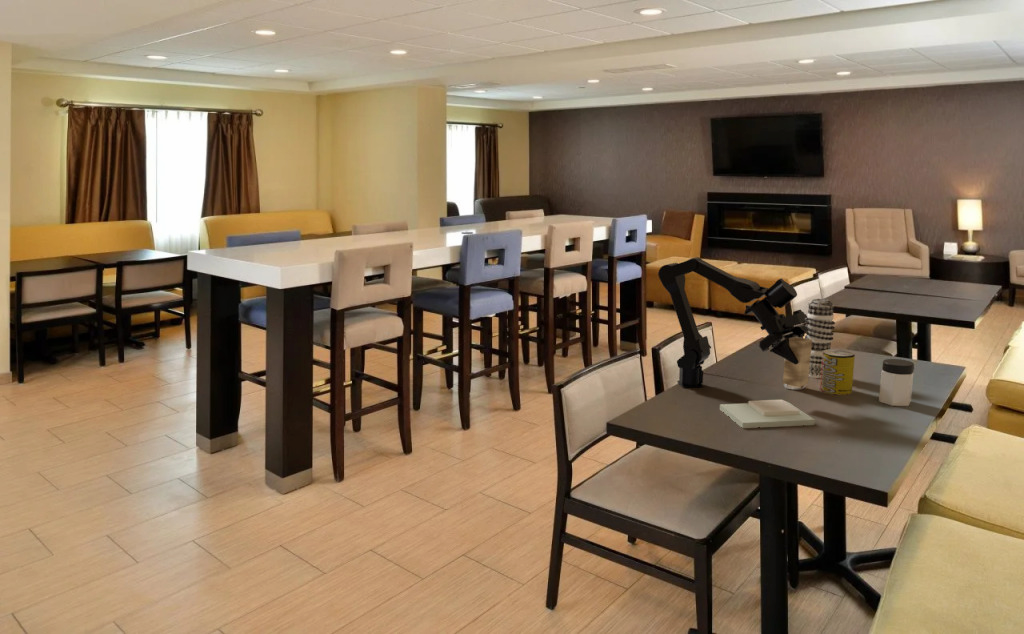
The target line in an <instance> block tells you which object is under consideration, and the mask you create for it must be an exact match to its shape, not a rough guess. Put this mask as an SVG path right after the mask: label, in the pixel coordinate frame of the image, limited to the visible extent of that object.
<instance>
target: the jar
mask: <svg viewBox="0 0 1024 634" xmlns="http://www.w3.org/2000/svg"><path fill="white" fill-rule="evenodd" d="M881 367H882V368H881V372H880V373H881V374H880V383H879V393H878V394H879V396H878V402H879V403H881V404H885V405H888V406H892V407H909V405H910V404H911V402H912V392H913V382H914V372H915V371H914V370H915V364H914V362H913V361H911V360H906V359H898V358H886V359H883V361H882V366H881Z"/></svg>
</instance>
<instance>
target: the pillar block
mask: <svg viewBox="0 0 1024 634" xmlns="http://www.w3.org/2000/svg"><path fill="white" fill-rule="evenodd" d="M789 346H790V348H791V350H792V351H793V353H794V355H795V356H796V358H797V360H798V362H799V363H797V364H794V363H792V362H790V361H788V360H787V359H785V362H784V366H783V375H782V377H783V378H782V384H783V385H784V384H788V385H792V386H796V387H801V386H804V387H805V386H807V385H808V384H809V378H810V377H809V368H810V357H811V346H812V340H811V339H805V337H803V338H800V337H793V338H789Z"/></svg>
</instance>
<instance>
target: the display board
mask: <svg viewBox="0 0 1024 634" xmlns="http://www.w3.org/2000/svg"><path fill="white" fill-rule="evenodd" d="M719 410H720V411H721V412H722V413H723V412H724V413H723V414H725V415H726V416H727V417H728V416H729V417H730V418H729V417H728V418H729V419H731V421H733V422H734V423H735V422H736V423H735V424H737V425H738V426H739V427H740V428H741V427H742V428H741V429H754V428H758V427H760V428H775V427H776V428H777V427H796V426H797V427H799V426H803V425H804V426H815V420H816V419H814V418H813V417H812V416H810V415H808V414H807V413H805V412H804V411H803V410H801V409H800V408H798V407H796V406H794V405H793V404H792V403H790V402H789V401H785V400H784V399H764V400H748V402H746V403H745V402H743V403H722V404H721V403H720V404H719Z"/></svg>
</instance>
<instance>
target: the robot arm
mask: <svg viewBox="0 0 1024 634" xmlns="http://www.w3.org/2000/svg"><path fill="white" fill-rule="evenodd" d="M657 273H658V274H657V275H658V278H659V280H660V283H661V284H662V286H663V288H664V289H665V290H666V291H667V292H668V294H669V296H670V298H671V301H672V304H673V308H674V310H675V314H676V317H677V320H678V323H679V326H680V329H681V332H682V335H683V345H682V349H683V350H682V351H683V355H682V356H681V357H680V358H678V359H677V360H676V364H677V367H678V368H679V372H678V374H679V375H678V377H679V378H678V380H677V381H676V383H678V384H679V385H680V386H681V387H682V388H703V387H704V370H703V366H702V365H704V363H705V361H706V360H708V358H709V357H710V354H711V349H712V346H711V345H710V342H709V338H708V336H707V335H705V336H702V334H701V333H700V331H699V330H698V326H697V324H696V320H695V318H694V314H693V311H692V308H691V305H690V301H689V299H688V296H687V292H686V288H685V287H686V275H687V274H690V273H695V274H697V275H698V276H701V277H703V278H705V279H707V280H709V281H710V282H712V283H714V284H717V285H718V286H720V287H722V288H723V289H725V290H727V292H729V294H730V295H731V296H732V297H733V298H735V299H736V300H737V301H739V302H741V303H743V304H747V303H750V302H752V304H751V305H750V304H748V305H745V310H744V315H751V314H753V315H754V316H755V318H756V319H757V320H758V322H759V323H760V325H761V326H760V330H761V331H764V330H765V332H766V333H767V335H766V336H765V337H763V339H760V341H759V342H758V348H759V349H760V350H761V352H767V351H768V350H769V353H773V354H775V355H777V356H779V357H781V358H783V359H784V358H785V359H787V360H788V361H790V362H792V363H794V364H797V363H799V362H798V360H797V358H796V356H795V355H794V353H793V351H792V350H791V348H790V346H789V338H793V337H800V338H804V337H805V336H806V333H807V332H808V331H809V330H808V328H807V327H806V326H805V325H806V324H807V323H806V321H805V319H807V318H806V316H807V314H806V313H805V312H804V311H802V310H801V309H797V310H794V311H792V314H790V315H787V316H786V315H785V314H783V313H779V312H778V311H777V310H776V308H779V309H782V308H783V307H786V306H787V305H788V304H789V303H790V302H791V301H793V300H794V299H795V298H797V297H798V292H797V291H796V289H795V288H794V286H793V285H791V284H790V283H788V282H787V281H785V280H784V279H783V278H779V279H777V280H776V281H775V283H773V284H772V285H771V286H770V287H769V288H768V287H764V286H761V285H760V284H759V283H758V282H756V281H753V280H750V279H748V278H743V277H742V278H741V277H737V276H734V275H733V274H730V273H728V272H727V271H724V270H723V269H721V268H719V267H717V266H715V265H713V264H711V263H709V262H707V261H705V260H703V259H702V258H701V257H699V256H698V257H697V256H696V257H695V256H694V257H691V258H690V259H688V260H685V261H683V262H679V263H677V262H672V263H667V264H664V265H662V266H661V267H660V268H659V270H658V272H657ZM763 297H764V298H763ZM761 298H762V299H761ZM760 299H761V300H760ZM753 301H754V302H753ZM805 323H806V324H805ZM770 347H771V349H770Z"/></svg>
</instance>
